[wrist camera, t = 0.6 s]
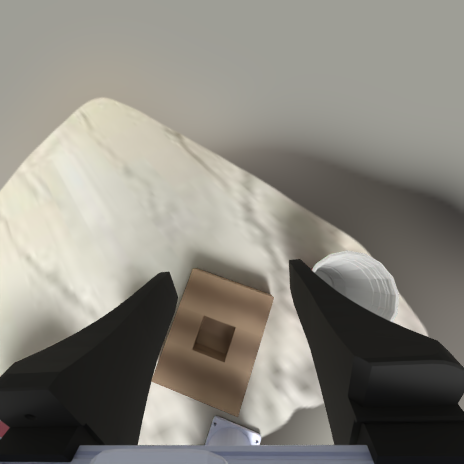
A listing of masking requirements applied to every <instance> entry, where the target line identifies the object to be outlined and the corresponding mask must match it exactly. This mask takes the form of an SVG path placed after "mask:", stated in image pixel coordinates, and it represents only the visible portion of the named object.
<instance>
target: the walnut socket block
mask: <svg viewBox="0 0 464 464" xmlns="http://www.w3.org/2000/svg"><path fill="white" fill-rule="evenodd" d="M273 299H274V297H273V296H272V295H271V294H268V293H265V292H262V291H259V290H257V289H254V288H251V287H248V286H245V285H243V284H240V283H237V282H234V281H231V280H229V279H226V278H223V277H220V276H217V275H215V274H212V273H209V272H206V271H203V270H201V269H198V268H193V269H192V272H191V275H190V277H189V280H188V283H187V286H186V288H185V291H184V294H183V296H182V299H181V302H180V305H179V307H178V310H177V313H176V315H175V318H174V321H173V324H172V326H171V329H170V332H169V334H168V337H167V340H166V343H165V345H164V348H163V351H162V354H161V356H160V359H159V362H158V364H157V367H156V370H155V373H154V375H153V378H152V382H154V383H156V384H159V385H161V386H164V387H166V388H169V389H171V390H173V391H176V392H178V393H181V394H183V395H185V396H188V397H190V398H193V399H195V400H198V401H200V402H202V403H205V404H207V405H210V406H212V407H214V408H217V409H219V410H222V411H224V412H227V413H229V414H231V415H234V416H236V417H238V415H239V412H240V408H241V405H242V402H243V398H244V395H245V392H246V388H247V385H248V382H249V379H250V375H251V372H252V369H253V365H254V362H255V359H256V355H257V352H258V349H259V346H260V342H261V339H262V336H263V332H264V329H265V326H266V322H267V319H268V316H269V312H270V309H271V306H272V303H273Z"/></svg>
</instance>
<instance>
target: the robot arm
mask: <svg viewBox="0 0 464 464" xmlns="http://www.w3.org/2000/svg"><path fill="white" fill-rule="evenodd" d="M289 272H290V290H291V294H292V298H293V302H294V306H295V308H296V311H297V314H298V316H299V319H300V322H301V324H302V327H303V330H304V333H305V335H306V338H307V341H308V344H309V347H310V350H311V353H312V357H313V361H314V364H315V368H316V372H317V376H318V380H319V384H320V387H321V391H322V395H323V399H324V403H325V407H326V411H327V415H328V419H329V424H330V428H331V432H332V437H333V441H334V445H259V444H260V441H261V435H260V434H259V433H257V432H254V431H252V430H250V429H247V428H245V427H242V426H240V425H238V424H235V423H233V422H230V421H228V420H226V419H223V418H221V417H218V416H215V417H214V418H213V421H212V424H211V427H210V430H209V434H208V437H207V440H206V443H205V445H138V440H139V435H140V430H141V425H142V420H143V415H144V411H145V406H146V401H147V397H148V393H149V389H150V385H151V381H152V377H153V373H154V369H155V366H156V362H157V359H158V355H159V352H160V350H161V347H162V344H163V342H164V339H165V336H166V334H167V331H168V329H169V326H170V324H171V321H172V318H173V315H174V313H175V309H176V305H177V300H178V295H177V293H176V290H175V287H174V284H173V281H172V278H171V275H170V272H161V273H159V274H157V275H156V276H155V277H153V278H152V279H151V280H150V281H149V282H147V283H146V284H145V285H144V286H143V287H141V288H140V289H139V290H138V291H137V292H135V293H134V294H133V295H132V296H131V297H129V298H128V299H127V300H125V301H124V302H123V303H121V304H120V305H119V306H118V307H116V308H115V309H114V310H112V311H111V312H109V313H108V314H106V315H105V316H103V317H102V318H100V319H99V320H97V321H96V322H94V323H92V324H91V325H89V326H87V327H86V328H84V329H82V330H81V331H79V332H77V333H75V334H74V335H72V336H70V337H68V338H66V339H64V340H62V341H60V342H58V343H56V344H55V345H53V346H51V347H48V348H46V349H44V350H42V351H40V352H38V353H36V354H33V355H31V356H29V357H27V358H24V359H22V360H20V361H18V362H15V363H14V364H13V365H12V366H11V367H10V368H9V369H8V370H7V371H6V372H5V373H4V374H3V375H2V376H1V377H0V420H1V421H2V422H3V423H4V424H6V425H7V426H8V427H10V428H9V429H8V430H7V432H6V433H5V434H4V435H3V437H0V464H464V411H463V410H462V409H461V408H460V406H459V405H458V402H459V400H460V399H461V397H462V395H463V393H464V367H463V366H462V365H461V364H460V363H459V362H458V361H457V360H456V359H455V358H454V357H453V356H452V354H451V353H450V352H449V351H448V350H447V349H446V348H445V347H444V346H443V345H442V344H440V343H439V342H438V341H437V340H434V339H431V338H429V337H427V336H424V335H422V334H419V333H416V332H414V331H411V330H409V329H406V328H404V327H402V326H400V325H397V324H395V323H393V322H391V321H389V320H387V319H385V318H383V317H381V316H378V315H376V314H375V313H373V312H371V311H369V310H367V309H365V308H364V307H362V306H360V305H358V304H357V303H355V302H353V301H352V300H350V299H349V298H347V297H345V296H344V295H342V294H341V293H339V292H338V291H337V290H335V289H334V288H333V287H331V286H330V285H329V284H327V283H326V282H325V281H324V280H323V279H321V278H320V277H319V276H318V275H317V274H316V273H314V272H313V271H312V270H311V269H310V268H309V267H308V266H307V265H306V264H305V263H304V262H303V261H302V260H300V259H296V260H289ZM214 423H216V424H214ZM256 440H258V441H257V442H256Z"/></svg>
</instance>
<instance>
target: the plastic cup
mask: <svg viewBox="0 0 464 464" xmlns="http://www.w3.org/2000/svg"><path fill="white" fill-rule="evenodd" d="M311 270H312V271H313V272H314V273H316V274H317V275H318V276H319V277H320V278H321V279H323V280H324V281H325V282H326V283H327V284H329V285H330V286H331V287H333V288H334V289H335V290H337V291H338V292H339V293H341V294H342V295H344V296H345V297H347V298H349V299H350V300H352V301H353V302H355V303H357V304H358V305H360V306H362V307H364V308H365V309H367V310H369V311H371V312H373V313H375V314H376V315H378V316H381V317H383V318H385V319H387V320H389V321H391V322H393V321H394V319H395V317H396V316H397V314H398V302H399V294H398V291H397V288H396V285H395V281H394V279H393V277H392V276H391V274H389V272H388V271H387V270H386V268H385V267H384V266H383V265H382V264H381V263H380V262H379V261H377V260H375V259H373V258H372V257H370V256H368V255H367V254H365V253H359V252H353V251H342V252H337V253H333V254H329V255H328V256H326V257H325V258H323V259H322V260H321V261H319V262H318V263H316V264H315V266H314V267H313V268H312V269H311Z"/></svg>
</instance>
